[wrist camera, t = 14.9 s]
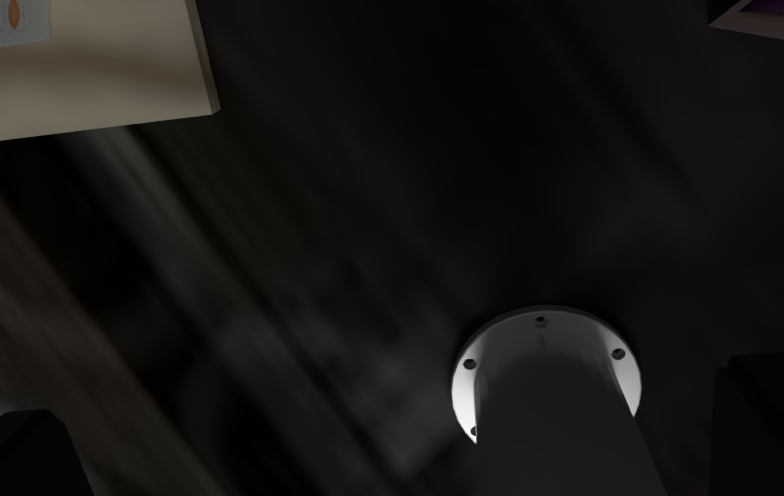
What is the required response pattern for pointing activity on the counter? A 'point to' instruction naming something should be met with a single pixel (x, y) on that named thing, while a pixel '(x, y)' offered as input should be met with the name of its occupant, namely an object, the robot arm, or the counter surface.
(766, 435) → the robot arm
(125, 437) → the counter surface
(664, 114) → the counter surface
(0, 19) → the small box
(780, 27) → the greeting card
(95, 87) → the birch board
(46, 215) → the counter surface
